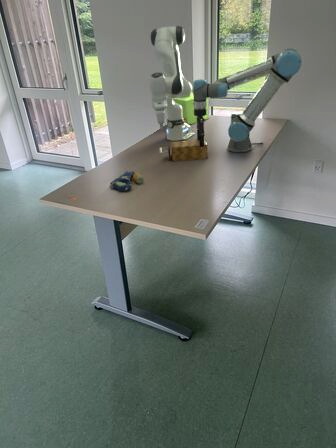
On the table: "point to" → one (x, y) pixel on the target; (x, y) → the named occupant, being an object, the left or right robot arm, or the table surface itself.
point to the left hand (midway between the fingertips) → (161, 127)
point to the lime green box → (189, 109)
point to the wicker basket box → (188, 150)
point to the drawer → (167, 151)
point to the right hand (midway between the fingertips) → (200, 143)
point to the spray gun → (126, 180)
